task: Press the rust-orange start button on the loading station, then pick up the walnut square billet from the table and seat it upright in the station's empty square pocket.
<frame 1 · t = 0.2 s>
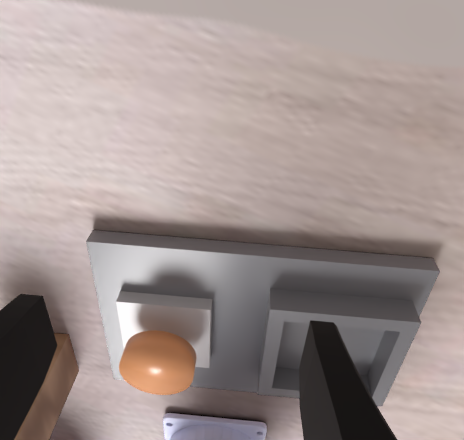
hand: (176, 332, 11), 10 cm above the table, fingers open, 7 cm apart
loading station: (252, 320, 25), on the table
start button: (158, 363, 22), point 4 cm above the table, slide at 0.0 cm
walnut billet: (45, 350, 29), on the table
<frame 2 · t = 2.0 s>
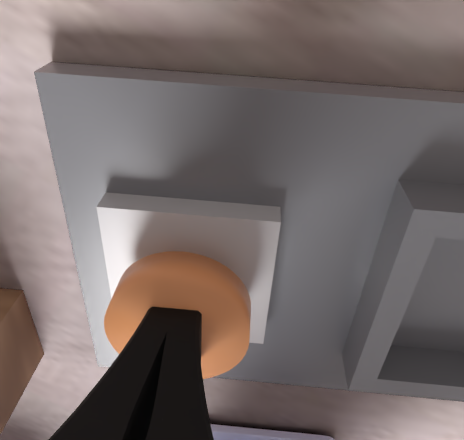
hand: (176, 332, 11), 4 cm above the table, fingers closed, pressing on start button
loading station: (339, 259, 14), on the table
start button: (180, 319, 12), point 3 cm above the table, slide at 0.3 cm, touching gripper
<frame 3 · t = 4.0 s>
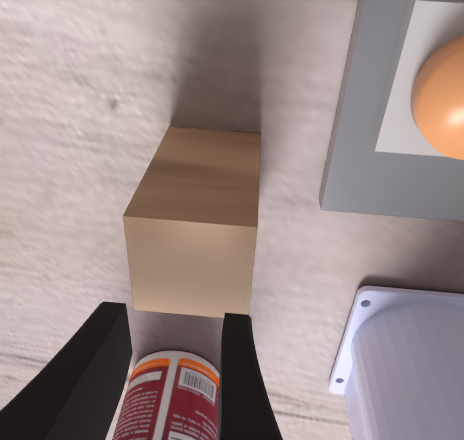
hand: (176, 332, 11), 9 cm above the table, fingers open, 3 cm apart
pill bottle: (179, 372, 28), on the table
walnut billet: (213, 170, 19), on the table
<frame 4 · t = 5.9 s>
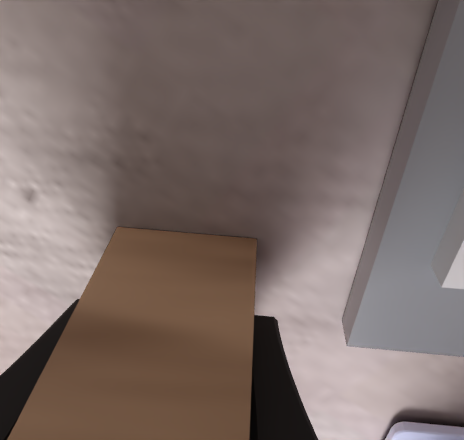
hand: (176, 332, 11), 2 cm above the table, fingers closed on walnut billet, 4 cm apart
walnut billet: (187, 284, 13), on the table, touching gripper
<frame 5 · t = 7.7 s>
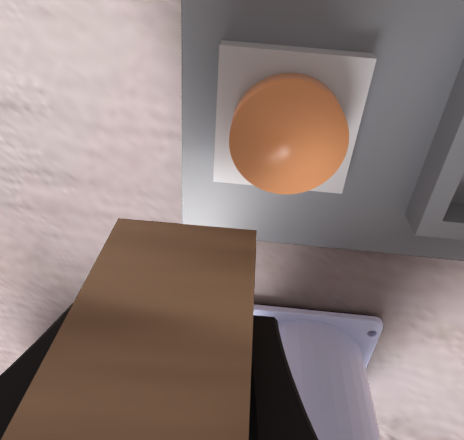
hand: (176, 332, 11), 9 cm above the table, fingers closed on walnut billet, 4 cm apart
loading station: (409, 120, 16), on the table
start button: (287, 136, 14), point 3 cm above the table, slide at 0.9 cm
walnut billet: (187, 276, 13), point 7 cm above the table, touching gripper
when the fingers open (4 cm above the table, at t = 10.0 s): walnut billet stays where it is, resting on loading station.
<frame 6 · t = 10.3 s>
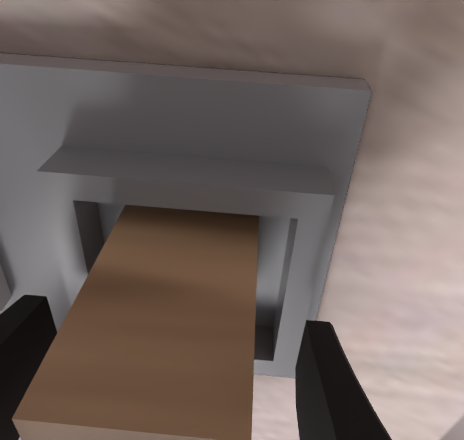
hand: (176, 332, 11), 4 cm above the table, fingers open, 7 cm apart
loading station: (73, 230, 15), on the table
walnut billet: (193, 254, 14), point 1 cm above the table, touching loading station
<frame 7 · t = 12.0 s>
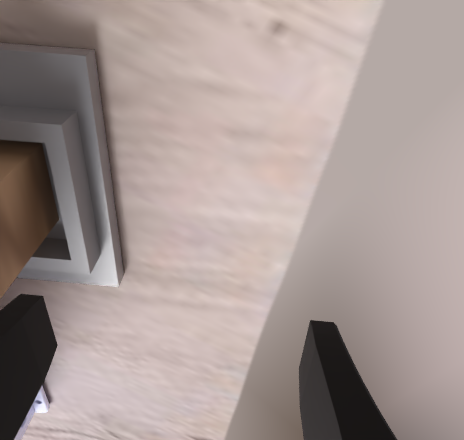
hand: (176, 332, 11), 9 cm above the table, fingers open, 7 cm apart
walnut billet: (8, 180, 19), point 1 cm above the table, touching loading station
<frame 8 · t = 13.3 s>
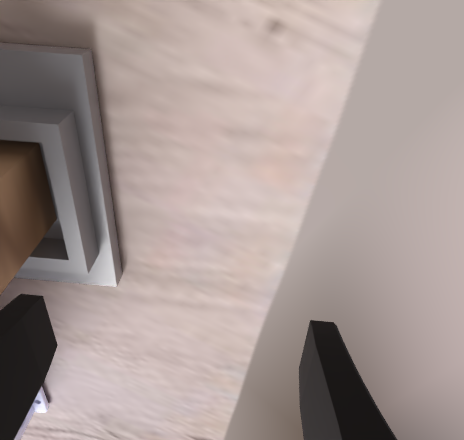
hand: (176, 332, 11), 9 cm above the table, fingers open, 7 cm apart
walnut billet: (5, 179, 19), point 1 cm above the table, touching loading station
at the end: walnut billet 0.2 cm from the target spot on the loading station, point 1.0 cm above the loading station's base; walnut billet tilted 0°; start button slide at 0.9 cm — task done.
